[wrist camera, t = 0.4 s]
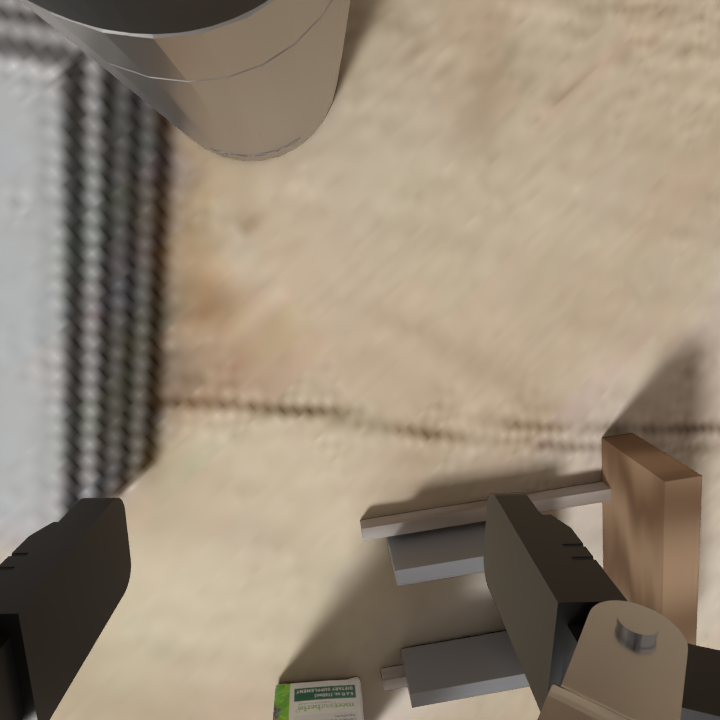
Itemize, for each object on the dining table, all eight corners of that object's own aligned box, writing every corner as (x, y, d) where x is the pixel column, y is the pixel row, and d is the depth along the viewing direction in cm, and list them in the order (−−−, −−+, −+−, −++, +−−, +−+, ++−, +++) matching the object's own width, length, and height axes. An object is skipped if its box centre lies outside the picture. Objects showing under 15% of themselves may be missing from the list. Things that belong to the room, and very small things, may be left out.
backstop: (354, 476, 32) (363, 530, 26) (632, 433, 33) (702, 475, 27) (387, 713, 36) (401, 806, 30) (632, 669, 37) (691, 750, 31)
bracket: (386, 535, 32) (395, 570, 29) (522, 513, 33) (547, 545, 30) (402, 661, 35) (412, 707, 31) (529, 639, 35) (552, 682, 32)
